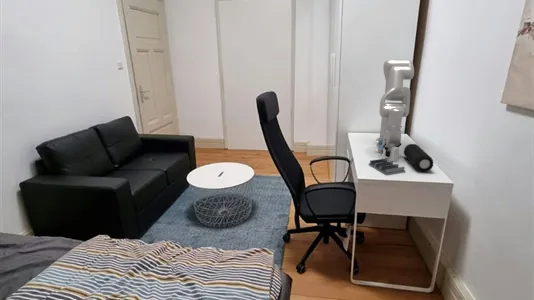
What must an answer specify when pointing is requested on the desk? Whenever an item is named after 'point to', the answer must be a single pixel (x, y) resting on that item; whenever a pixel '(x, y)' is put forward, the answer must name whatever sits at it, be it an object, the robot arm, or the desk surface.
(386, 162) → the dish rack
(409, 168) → the desk surface
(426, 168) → the portable speaker
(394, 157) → the white block
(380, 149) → the light bulb box
